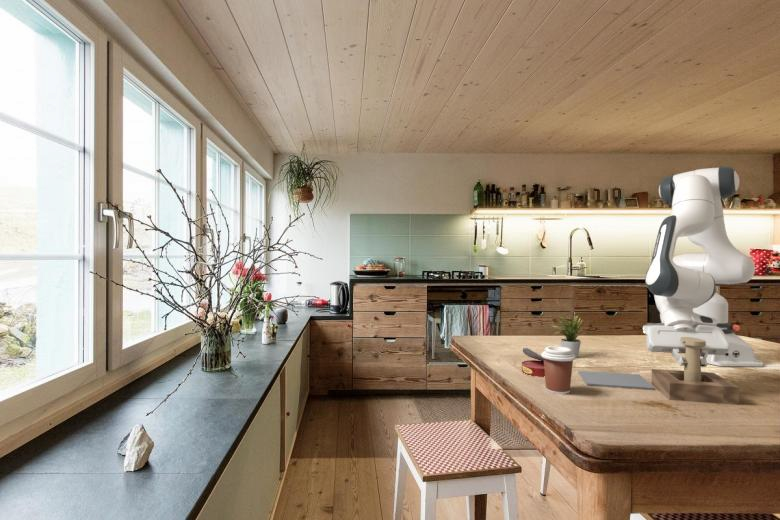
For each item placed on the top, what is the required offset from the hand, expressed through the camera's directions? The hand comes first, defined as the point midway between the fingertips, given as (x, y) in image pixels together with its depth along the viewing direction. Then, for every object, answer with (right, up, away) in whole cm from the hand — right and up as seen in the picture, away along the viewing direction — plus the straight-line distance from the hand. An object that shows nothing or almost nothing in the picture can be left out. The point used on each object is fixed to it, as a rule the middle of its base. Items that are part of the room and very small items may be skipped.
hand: (693, 365), depth 121 cm
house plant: (-16, -7, +45) cm, 48 cm away
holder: (0, -8, +1) cm, 8 cm away
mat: (-16, -8, +13) cm, 22 cm away
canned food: (-36, -8, +22) cm, 43 cm away
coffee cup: (-36, -8, +4) cm, 37 cm away
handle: (0, -8, +1) cm, 8 cm away
